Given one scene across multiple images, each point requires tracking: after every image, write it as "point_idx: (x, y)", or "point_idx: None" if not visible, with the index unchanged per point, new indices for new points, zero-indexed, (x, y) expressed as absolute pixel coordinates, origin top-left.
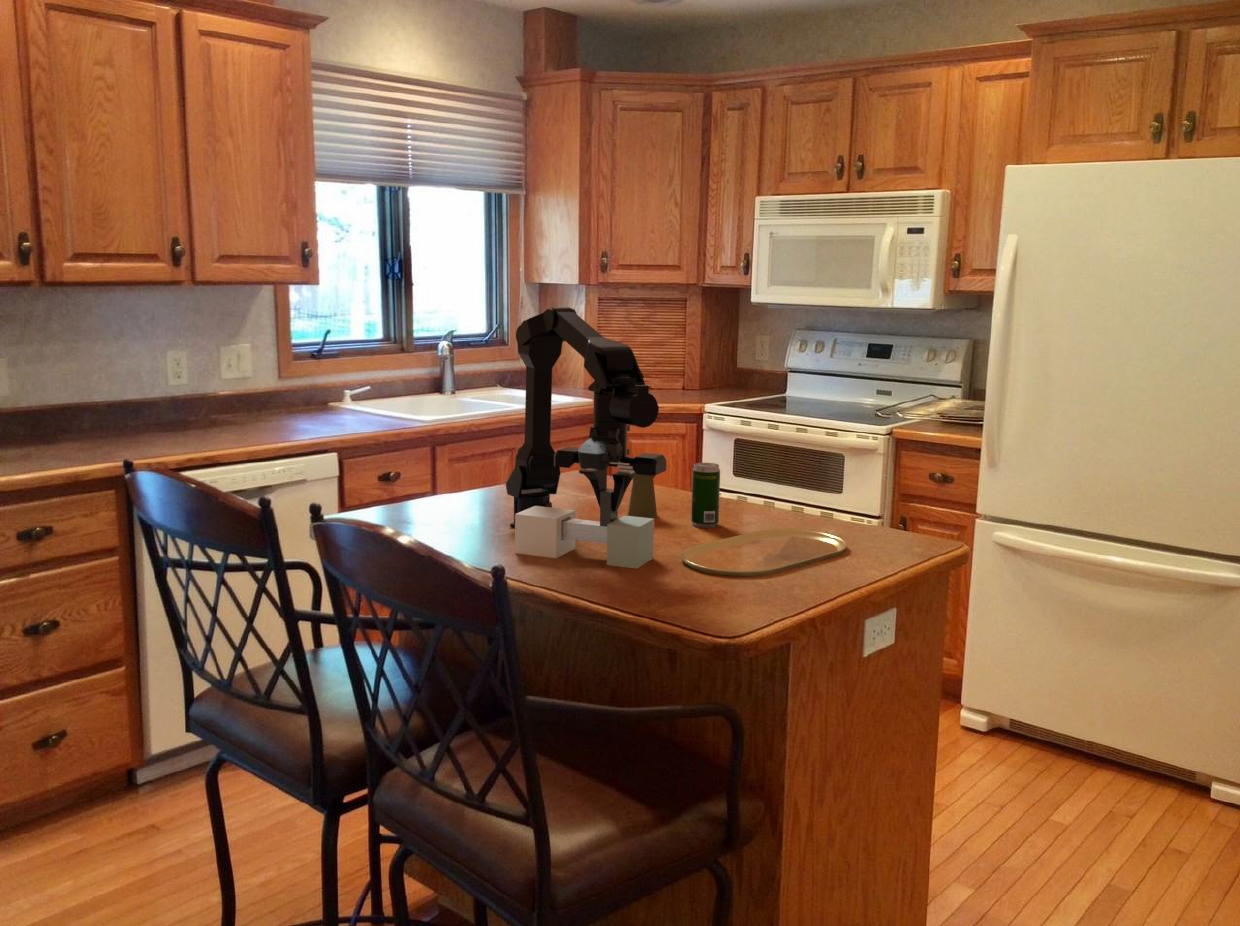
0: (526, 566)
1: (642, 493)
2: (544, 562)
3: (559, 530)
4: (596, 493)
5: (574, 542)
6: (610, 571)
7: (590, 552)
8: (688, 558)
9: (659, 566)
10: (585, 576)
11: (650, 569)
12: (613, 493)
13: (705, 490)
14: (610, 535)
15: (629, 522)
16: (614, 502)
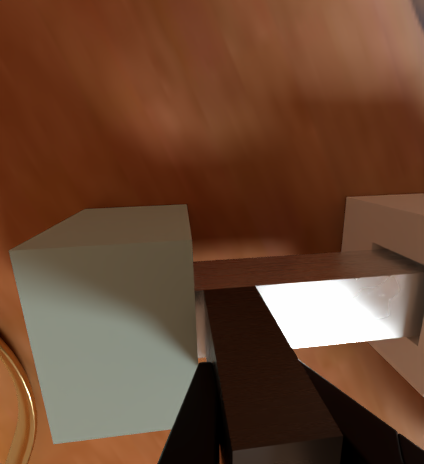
0: (397, 70)
1: None
2: (362, 141)
3: (403, 238)
4: (369, 423)
5: None
6: (142, 142)
7: None
8: (12, 371)
9: None
10: (185, 43)
11: (45, 223)
12: (216, 458)
13: None
14: (174, 227)
15: (113, 329)
16: (204, 398)
